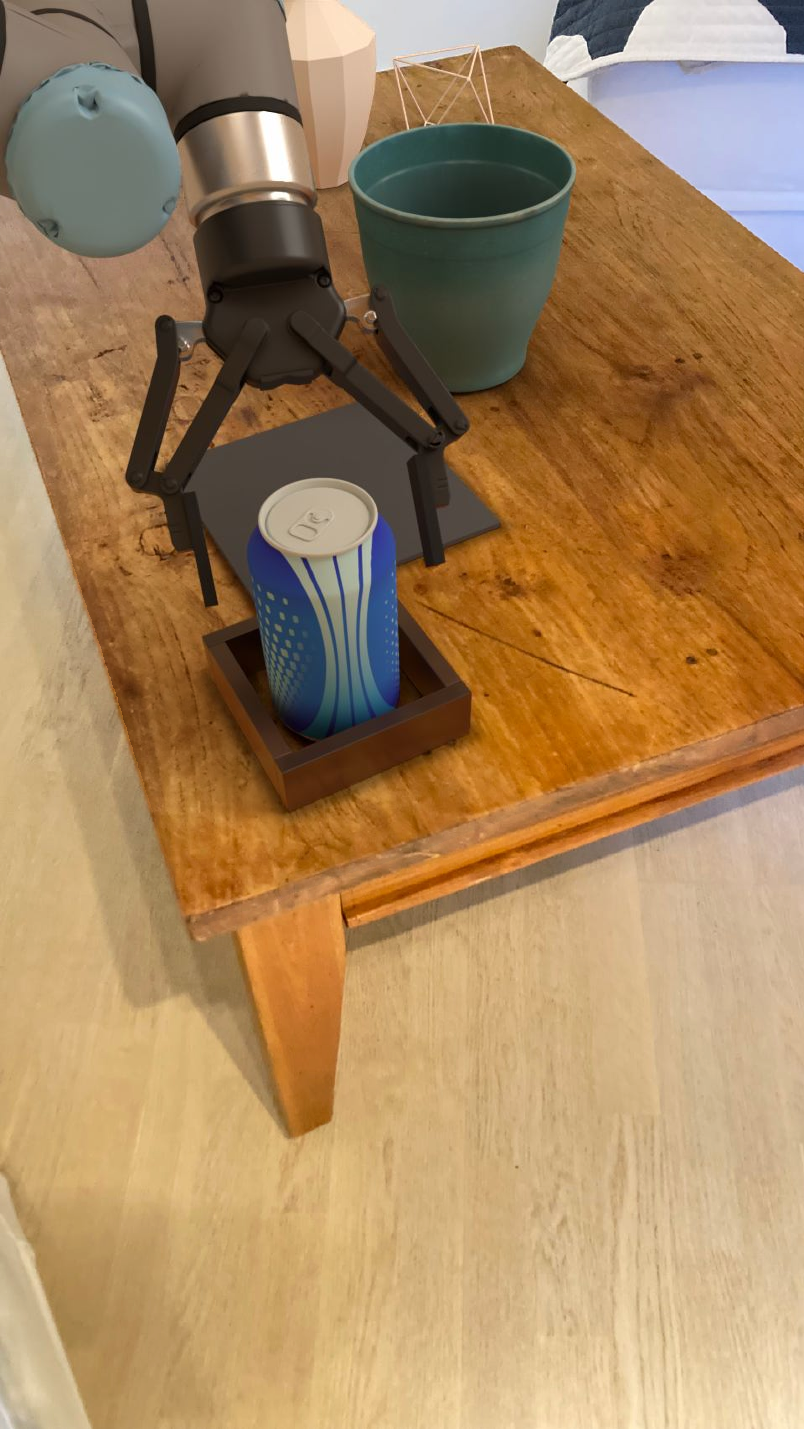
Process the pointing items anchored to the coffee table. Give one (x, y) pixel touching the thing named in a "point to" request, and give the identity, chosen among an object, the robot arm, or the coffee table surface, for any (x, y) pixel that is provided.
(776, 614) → the coffee table surface
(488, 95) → the geometric polyhedron
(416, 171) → the flower pot
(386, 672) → the beer can
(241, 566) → the rubber mat
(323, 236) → the robot arm
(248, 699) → the can holder
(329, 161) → the vase
